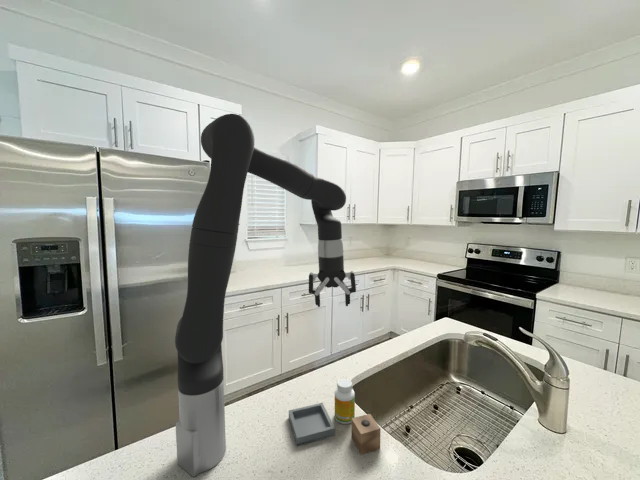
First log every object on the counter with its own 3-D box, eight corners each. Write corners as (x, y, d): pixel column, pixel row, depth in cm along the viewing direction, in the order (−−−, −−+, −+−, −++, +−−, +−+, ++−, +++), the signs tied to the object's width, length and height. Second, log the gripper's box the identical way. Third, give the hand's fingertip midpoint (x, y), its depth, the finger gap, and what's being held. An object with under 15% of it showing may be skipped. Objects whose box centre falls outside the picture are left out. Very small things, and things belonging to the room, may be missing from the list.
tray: (297, 446, 63) (297, 438, 63) (288, 417, 72) (288, 410, 72) (335, 435, 66) (335, 427, 66) (322, 409, 75) (322, 402, 75)
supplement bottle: (353, 426, 69) (354, 390, 69) (333, 423, 70) (333, 387, 70) (355, 411, 75) (355, 378, 74) (336, 408, 76) (336, 375, 75)
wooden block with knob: (360, 454, 61) (361, 433, 61) (351, 437, 66) (351, 418, 65) (380, 448, 63) (380, 428, 62) (369, 432, 67) (369, 413, 67)
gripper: (305, 257, 77) (308, 311, 79) (355, 255, 76) (357, 309, 79) (308, 252, 84) (310, 301, 87) (353, 250, 84) (355, 300, 86)
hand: (332, 305), depth 83 cm, fingers open, 8 cm apart
